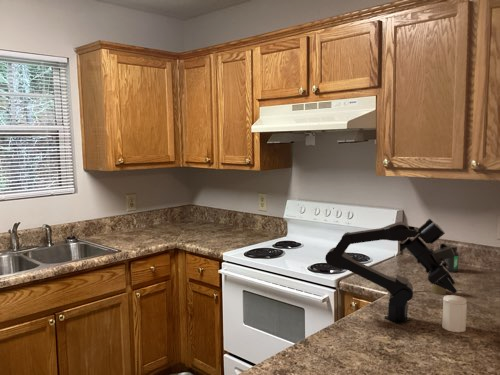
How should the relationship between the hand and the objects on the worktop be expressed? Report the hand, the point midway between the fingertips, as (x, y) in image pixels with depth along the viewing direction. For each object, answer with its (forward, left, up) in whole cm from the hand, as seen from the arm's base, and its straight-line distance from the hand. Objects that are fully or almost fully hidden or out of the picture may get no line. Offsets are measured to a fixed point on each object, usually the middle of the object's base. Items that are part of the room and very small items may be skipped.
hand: (454, 287), depth 149 cm
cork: (+27, +24, -14) cm, 39 cm away
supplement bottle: (+60, +40, -14) cm, 74 cm away
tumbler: (-1, -1, -13) cm, 14 cm away
